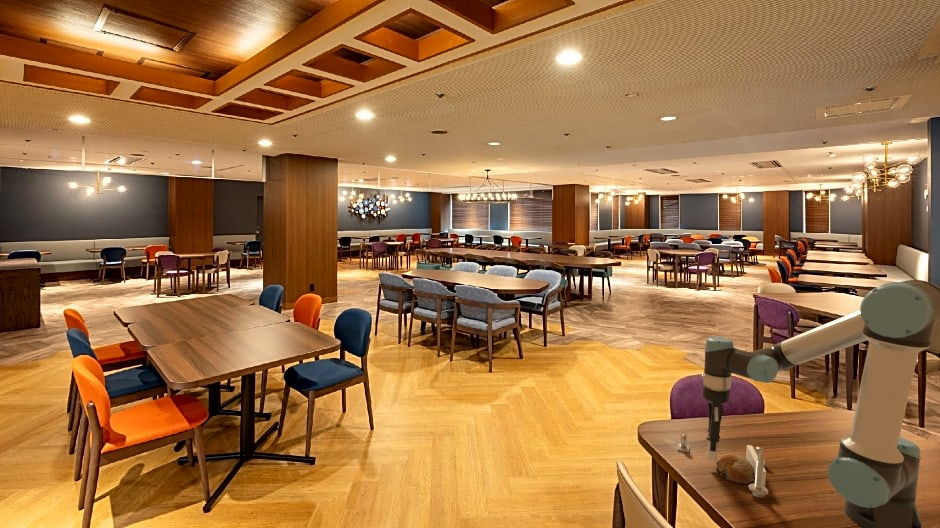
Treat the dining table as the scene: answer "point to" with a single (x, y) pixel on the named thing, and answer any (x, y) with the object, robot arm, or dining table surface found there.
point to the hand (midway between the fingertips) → (711, 459)
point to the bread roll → (735, 469)
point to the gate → (754, 461)
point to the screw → (758, 479)
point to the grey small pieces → (684, 447)
